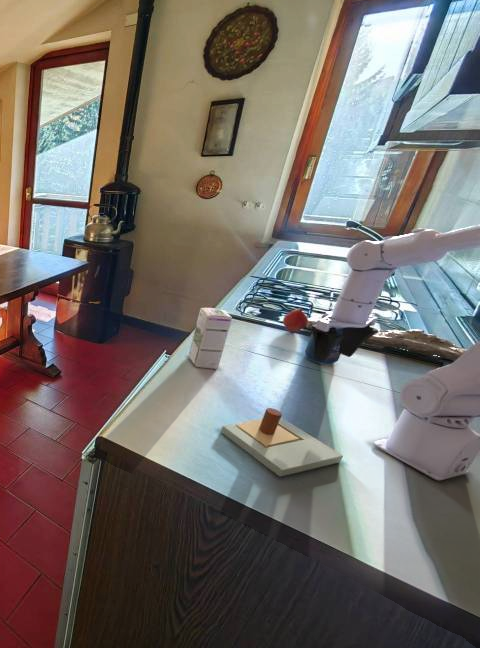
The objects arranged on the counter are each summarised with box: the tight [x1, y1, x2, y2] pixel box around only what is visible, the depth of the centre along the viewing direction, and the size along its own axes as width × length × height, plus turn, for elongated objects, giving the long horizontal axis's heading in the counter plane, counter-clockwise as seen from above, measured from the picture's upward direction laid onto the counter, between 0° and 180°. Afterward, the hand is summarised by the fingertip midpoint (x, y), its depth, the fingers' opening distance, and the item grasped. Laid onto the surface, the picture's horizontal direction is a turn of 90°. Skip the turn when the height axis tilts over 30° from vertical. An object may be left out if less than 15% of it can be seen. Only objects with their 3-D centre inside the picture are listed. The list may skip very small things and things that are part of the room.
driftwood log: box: [305, 316, 468, 361], centre depth 115 cm, size 35×5×10 cm
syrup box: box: [187, 307, 233, 370], centre depth 99 cm, size 6×6×14 cm
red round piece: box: [282, 307, 308, 333], centre depth 120 cm, size 6×6×8 cm
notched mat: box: [220, 417, 344, 478], centre depth 72 cm, size 12×14×2 cm
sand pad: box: [234, 407, 299, 448], centre depth 74 cm, size 6×8×6 cm
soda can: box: [304, 314, 343, 366], centre depth 103 cm, size 7×7×12 cm
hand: (332, 356), depth 86 cm, fingers open, 7 cm apart
